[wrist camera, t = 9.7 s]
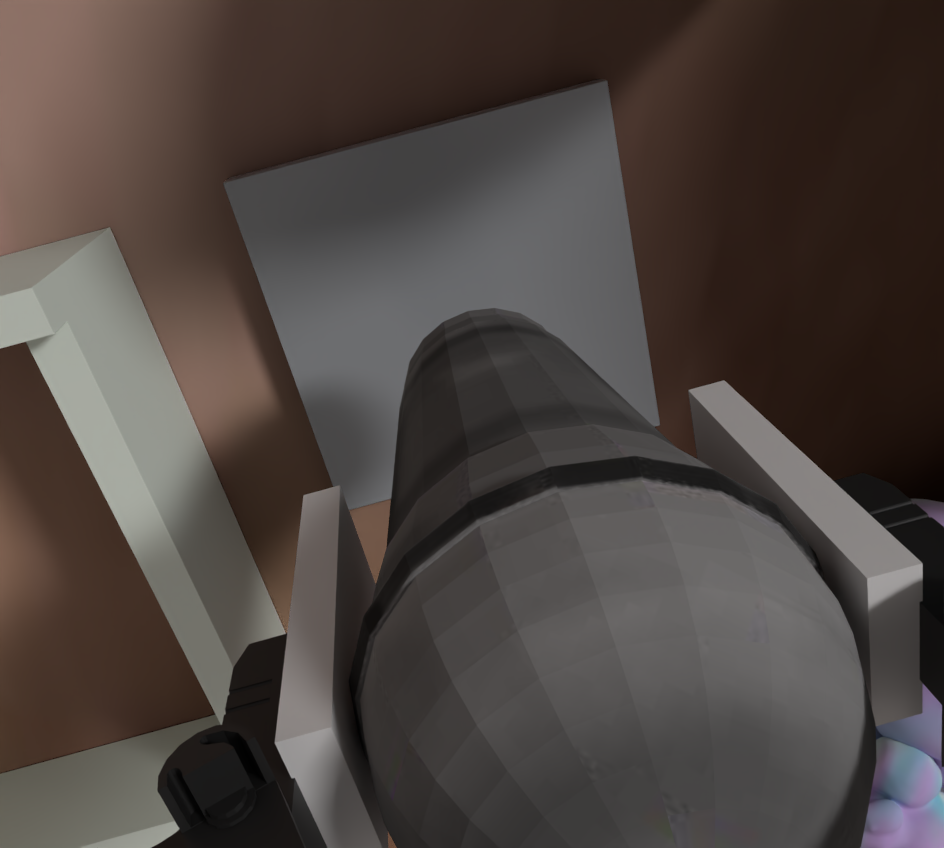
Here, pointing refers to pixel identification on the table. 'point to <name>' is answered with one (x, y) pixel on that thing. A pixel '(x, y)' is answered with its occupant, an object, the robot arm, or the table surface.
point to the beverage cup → (593, 627)
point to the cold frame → (129, 529)
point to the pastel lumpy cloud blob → (909, 770)
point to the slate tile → (443, 259)
